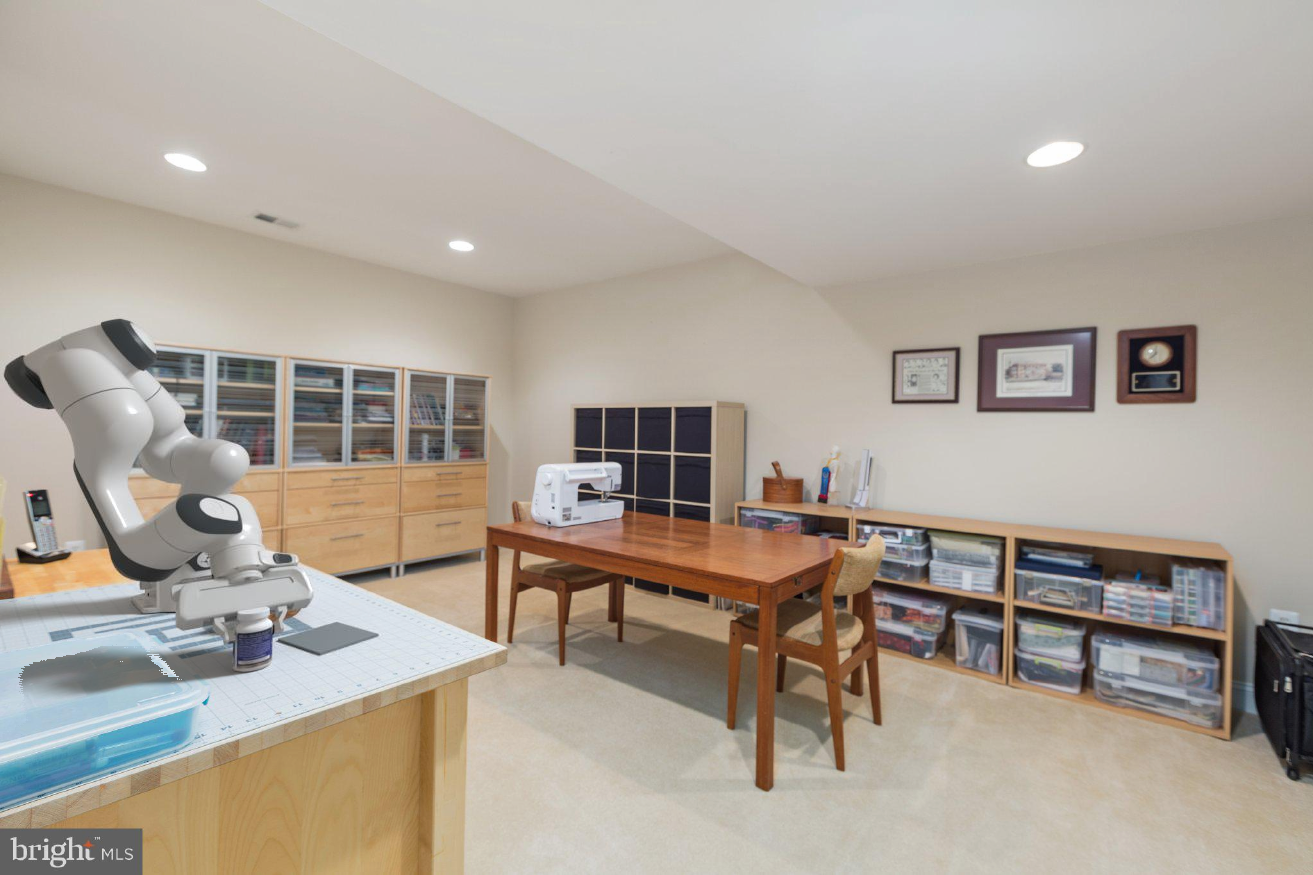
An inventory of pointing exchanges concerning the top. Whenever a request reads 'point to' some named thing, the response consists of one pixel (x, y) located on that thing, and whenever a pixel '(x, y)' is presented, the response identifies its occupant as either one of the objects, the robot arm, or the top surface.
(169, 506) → the robot arm
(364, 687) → the top surface
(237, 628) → the pill bottle
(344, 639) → the mat
